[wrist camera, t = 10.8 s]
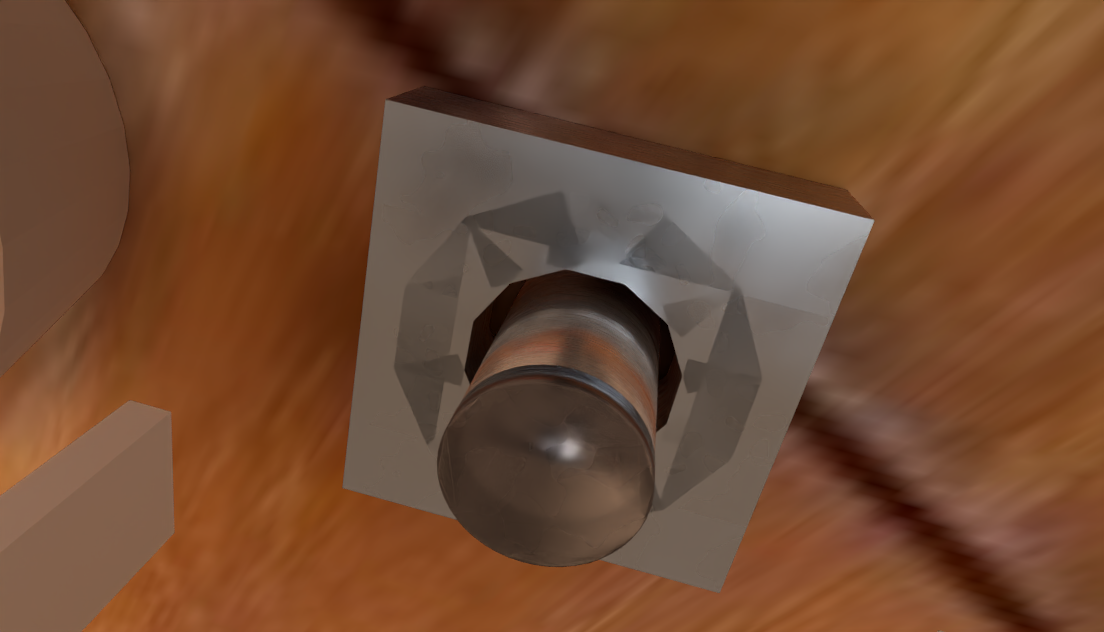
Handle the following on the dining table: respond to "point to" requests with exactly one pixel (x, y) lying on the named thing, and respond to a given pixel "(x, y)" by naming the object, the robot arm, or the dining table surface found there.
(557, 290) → the cylindrical peg
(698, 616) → the dining table surface
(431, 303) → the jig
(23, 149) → the bowl
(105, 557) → the robot arm
